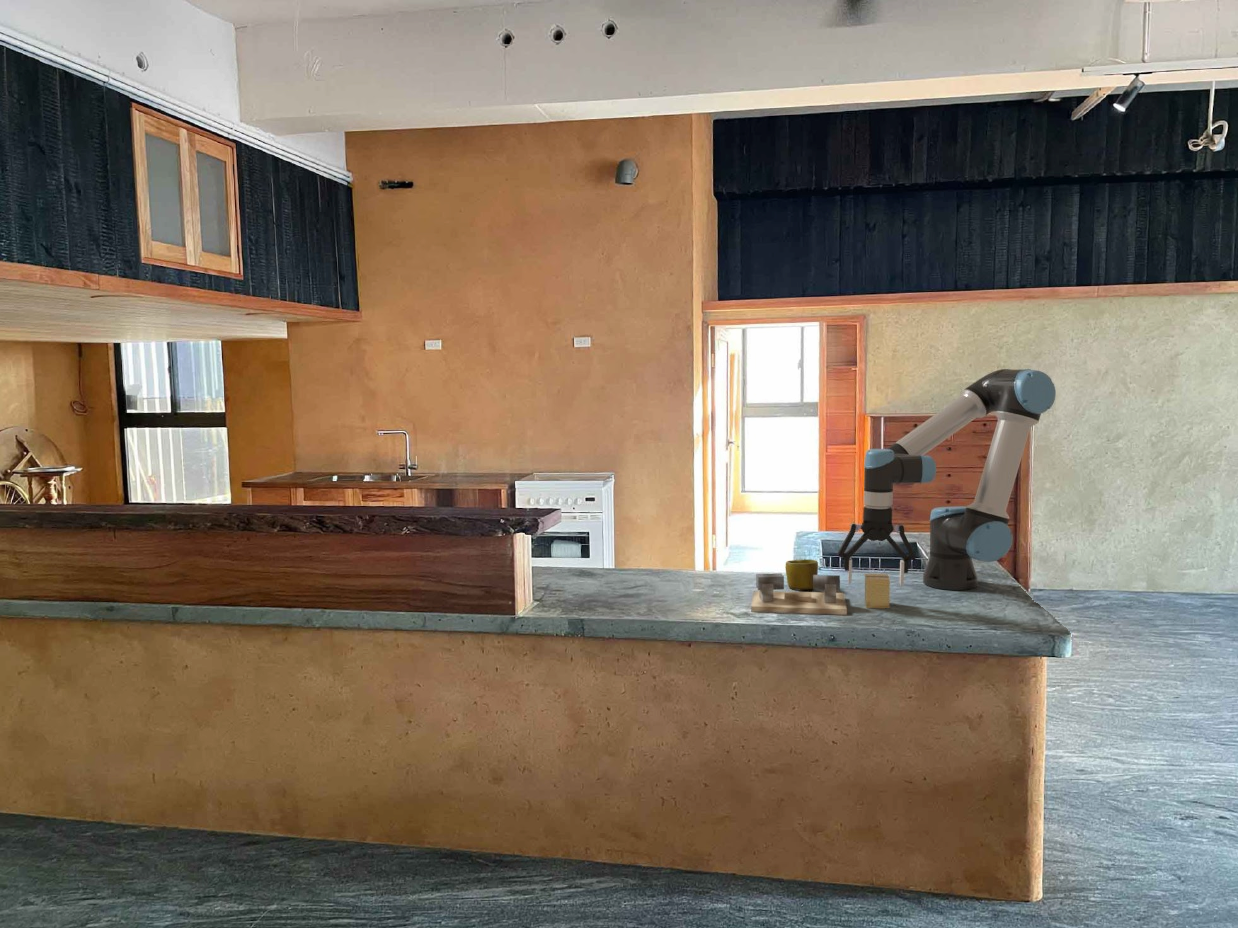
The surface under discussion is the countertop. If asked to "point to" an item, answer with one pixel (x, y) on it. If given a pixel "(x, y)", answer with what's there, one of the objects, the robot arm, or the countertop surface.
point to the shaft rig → (798, 596)
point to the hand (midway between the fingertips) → (875, 583)
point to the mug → (801, 573)
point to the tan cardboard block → (877, 590)
